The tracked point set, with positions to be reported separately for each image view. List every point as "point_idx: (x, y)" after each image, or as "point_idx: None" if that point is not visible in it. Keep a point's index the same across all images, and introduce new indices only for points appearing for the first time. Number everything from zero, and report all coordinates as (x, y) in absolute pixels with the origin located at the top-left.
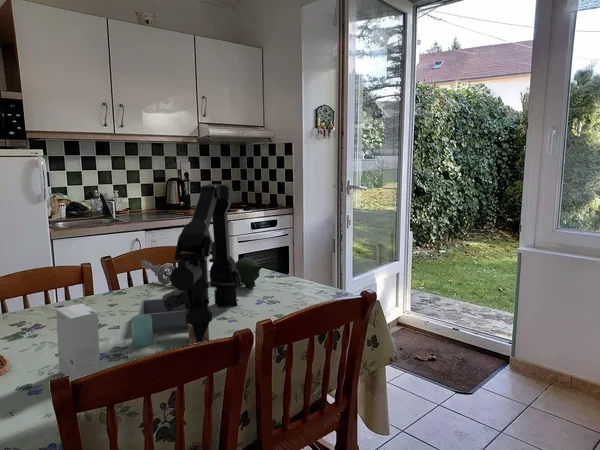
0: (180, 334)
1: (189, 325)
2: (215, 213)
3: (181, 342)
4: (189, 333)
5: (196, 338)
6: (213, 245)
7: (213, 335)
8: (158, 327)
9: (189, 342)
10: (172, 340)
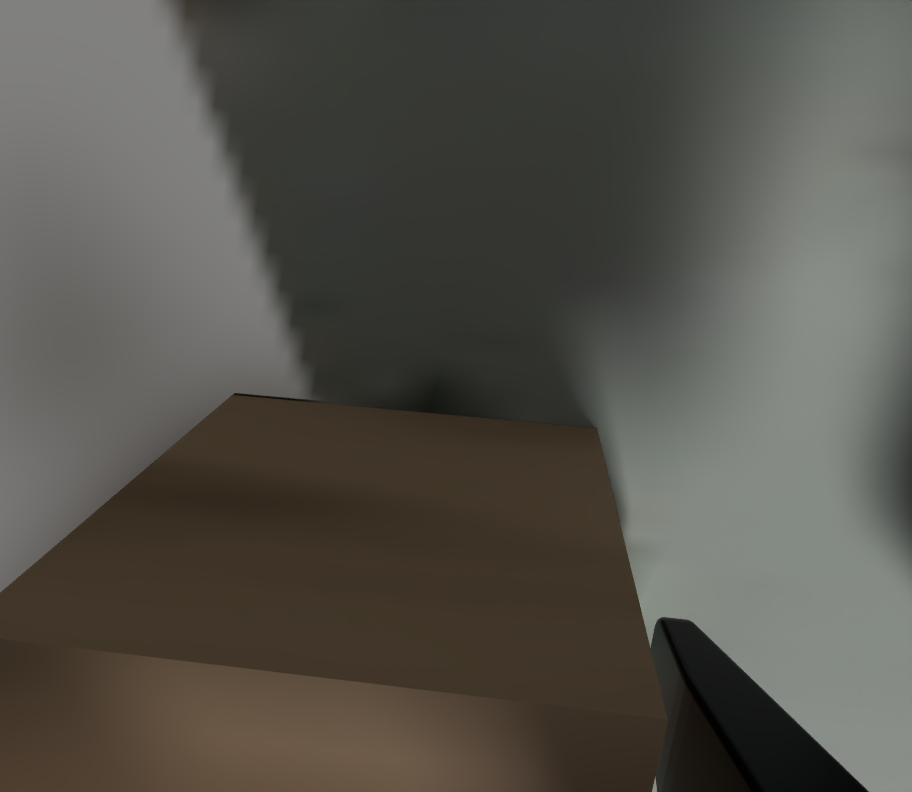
0: (862, 287)
1: (95, 683)
2: None
3: (411, 271)
4: (104, 529)
5: None
6: None
7: None
8: None
9: (208, 423)
10: (589, 83)
